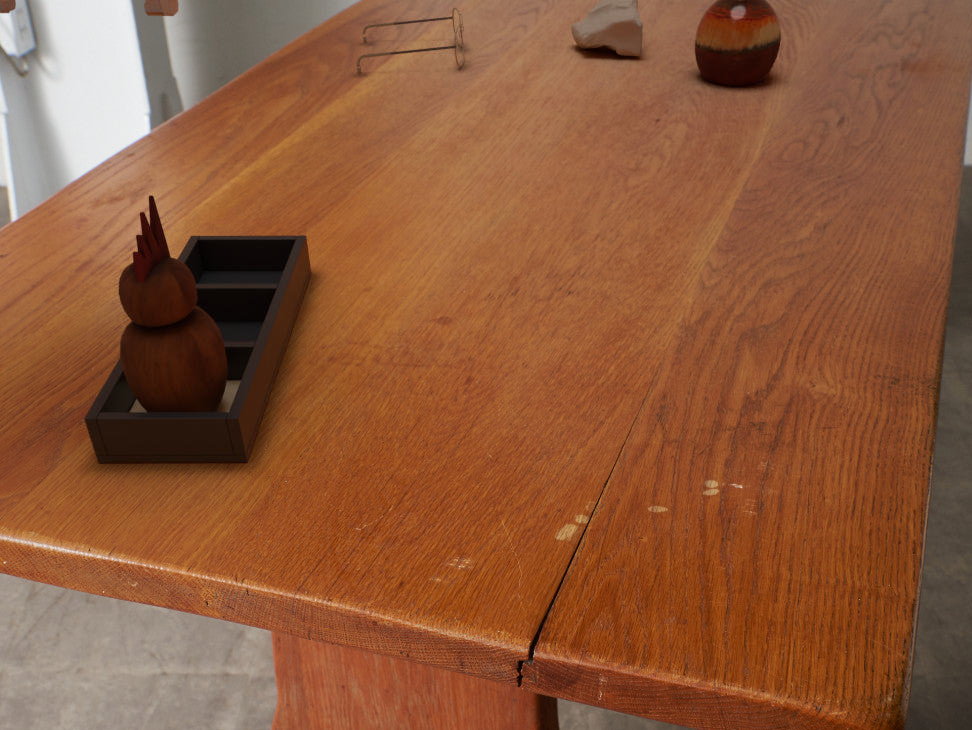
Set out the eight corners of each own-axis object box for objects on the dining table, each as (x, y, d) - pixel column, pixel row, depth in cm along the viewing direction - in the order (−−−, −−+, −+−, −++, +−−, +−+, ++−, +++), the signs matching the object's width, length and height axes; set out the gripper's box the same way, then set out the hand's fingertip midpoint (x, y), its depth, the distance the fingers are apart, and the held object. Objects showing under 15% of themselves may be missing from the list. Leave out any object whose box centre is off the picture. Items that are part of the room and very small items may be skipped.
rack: (97, 463, 68) (83, 418, 66) (199, 273, 90) (190, 235, 88) (247, 462, 68) (238, 418, 66) (311, 273, 90) (306, 235, 88)
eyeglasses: (466, 71, 139) (465, 32, 135) (357, 73, 138) (353, 34, 135) (463, 40, 151) (462, 3, 148) (362, 42, 150) (359, 5, 147)
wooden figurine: (192, 378, 75) (145, 180, 65) (250, 400, 73) (211, 198, 63) (122, 422, 70) (60, 216, 61) (181, 447, 68) (128, 237, 59)
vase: (756, 95, 130) (776, -39, 120) (677, 82, 135) (690, -49, 125) (786, 73, 137) (806, -55, 128) (710, 62, 142) (724, -63, 132)
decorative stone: (561, 32, 148) (602, -31, 145) (607, 70, 152) (649, 10, 149) (578, 45, 139) (623, -22, 136) (627, 84, 143) (672, 21, 140)
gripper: (-243, -298, 47) (-127, 24, 56) (198, -290, 47) (244, 29, 56) (-172, -300, 52) (-76, -4, 60) (228, -293, 52) (266, 1, 61)
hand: (81, 12), depth 58 cm, fingers open, 8 cm apart
